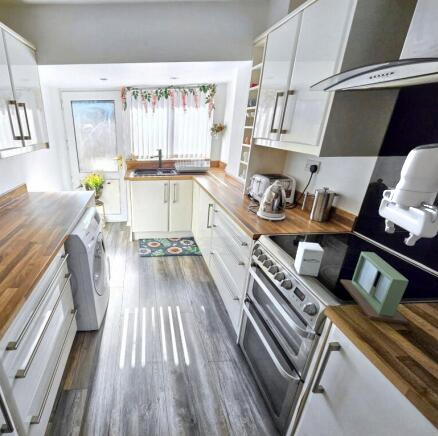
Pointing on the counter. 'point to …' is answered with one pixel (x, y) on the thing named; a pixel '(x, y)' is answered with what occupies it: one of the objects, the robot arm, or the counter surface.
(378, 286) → the sliding pane
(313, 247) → the white packaging box
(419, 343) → the counter surface
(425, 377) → the counter surface
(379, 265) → the window frame
